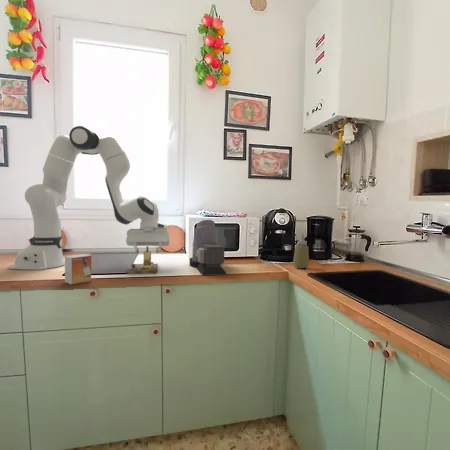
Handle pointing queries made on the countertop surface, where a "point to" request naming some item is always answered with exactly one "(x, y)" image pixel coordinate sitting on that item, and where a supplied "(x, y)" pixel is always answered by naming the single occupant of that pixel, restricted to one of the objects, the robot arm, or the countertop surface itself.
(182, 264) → the countertop surface
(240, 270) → the countertop surface
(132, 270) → the gear board
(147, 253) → the brass pinion
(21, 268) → the robot arm
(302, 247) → the squeeze bottle
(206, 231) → the juicer
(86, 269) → the small box
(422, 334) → the countertop surface
